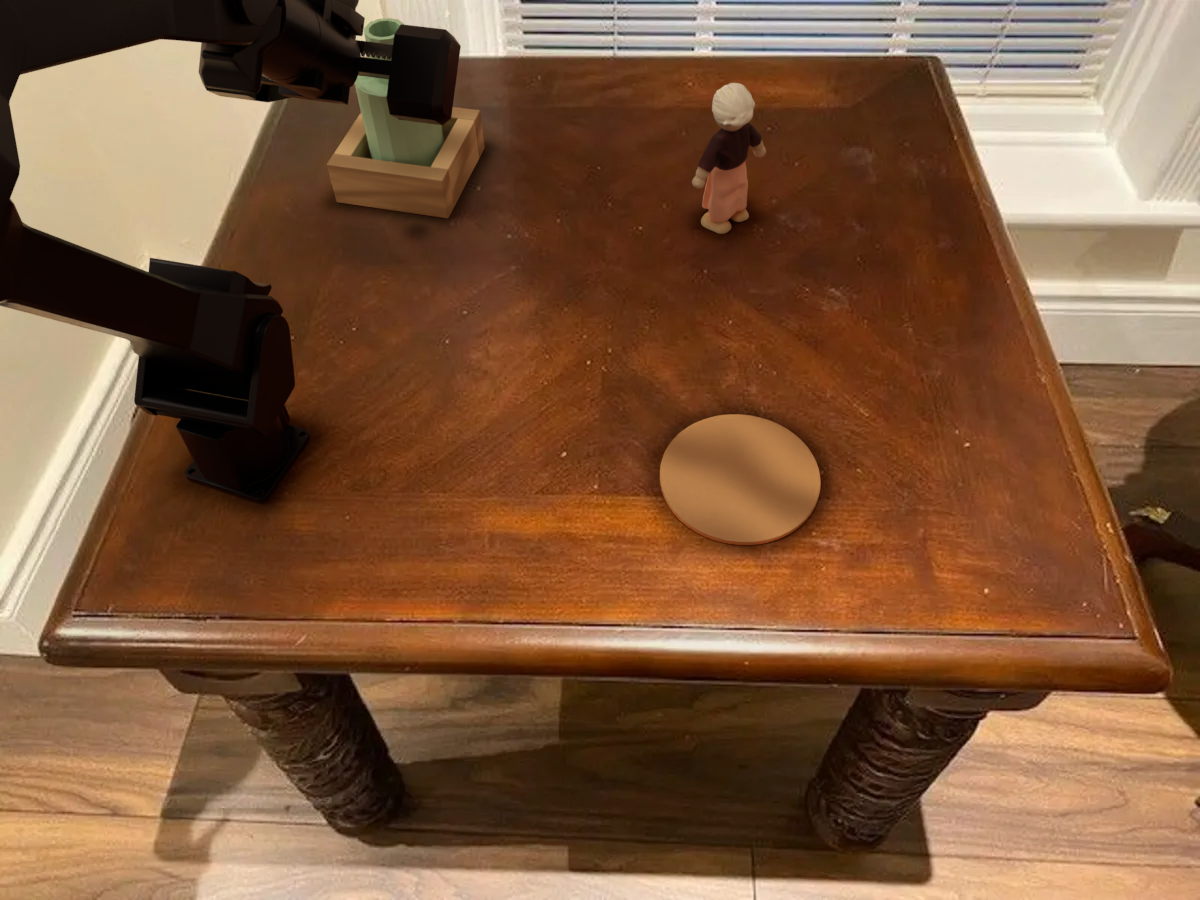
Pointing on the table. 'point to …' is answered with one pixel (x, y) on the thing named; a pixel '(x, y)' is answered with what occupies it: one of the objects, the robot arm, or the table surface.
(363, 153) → the holder
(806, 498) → the mat
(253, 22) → the robot arm
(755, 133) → the grandmother figurine
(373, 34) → the bottle
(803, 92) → the table surface
